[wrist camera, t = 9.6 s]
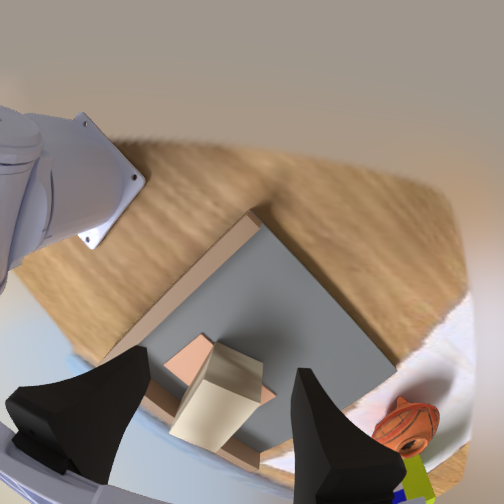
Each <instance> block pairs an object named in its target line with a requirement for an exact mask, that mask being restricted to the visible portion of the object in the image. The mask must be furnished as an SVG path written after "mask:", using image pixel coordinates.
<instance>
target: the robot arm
mask: <svg viewBox="0 0 504 504" xmlns="http://www.w3.org/2000/svg"><path fill="white" fill-rule="evenodd" d="M86 122H88V124H87V126H86ZM135 174H136V175H137V179H136V180H134V179H133V176H134V175H135ZM145 183H146V180H145V178H144V176H143V175H142V174H141V173H140V172H139V171H138V170H137V169H136V168H135V167H134V166H133V165H132V164H131V162H130V161H129V160H128V159H127V158H126V157H125V156H124V155H123V154H122V153H121V152H120V151H119V150H118V149H117V147H116V146H115V145H114V144H113V143H112V142H111V141H110V140H109V139H108V138H107V137H106V136H105V135H104V133H103V132H102V131H101V130H100V129H99V128H98V127H97V126H96V125H95V124H94V123H93V121H92V120H91V119H90V118H89V117H88V116H87V115H86V114H85V113H84V112H80V113H78V114H77V115H76V117H75V118H74V120H70V119H65V118H59V117H54V116H47V115H41V114H34V113H27V114H21V113H19V112H17V111H15V110H12V109H10V108H7V107H4V106H0V295H1V294H2V293H3V291H4V289H5V286H6V283H7V276H8V271H9V270H11V269H13V268H15V267H18V266H20V265H21V263H22V260H23V258H24V257H25V256H26V255H28V254H30V253H32V252H35V251H37V250H39V249H42V248H44V247H47V246H49V245H52V244H54V243H57V242H59V241H62V240H64V239H67V238H69V237H72V236H75V235H77V234H78V235H79V236H80V238H81V239H82V240H83V241H84V242H85V244H86V245H87V246H88V247H89V248H90V249H95V248H97V246H98V245H99V244H100V242H101V241H102V239H103V238H104V237H105V235H106V234H107V233H108V231H109V230H110V228H111V227H112V226H113V224H114V223H115V222H116V220H117V219H118V218H119V217H120V215H121V214H122V213H123V211H124V210H125V209H126V208H127V206H128V205H129V204H130V203H131V201H132V200H133V199H134V198H135V196H136V195H137V194H138V193H139V191H140V190H141V189H142V188H143V187H144V185H145ZM88 237H89V238H90V241H89V240H88ZM150 380H151V375H150V368H149V361H148V353H147V347H143V346H138V345H135V346H133V347H131V348H130V349H128V350H126V351H125V352H123V353H121V354H120V355H118V356H116V357H115V358H113V359H111V360H109V361H108V362H106V363H104V364H102V365H100V366H98V367H96V368H94V369H92V370H90V371H88V372H86V373H84V374H81V375H79V376H76V377H73V378H71V379H67V380H64V381H60V382H56V383H52V384H45V385H39V386H25V387H18V389H17V390H16V391H15V392H14V393H13V394H12V395H11V396H10V397H9V398H8V399H7V400H6V402H5V405H6V409H7V411H8V413H9V415H10V417H11V418H12V420H13V422H14V423H15V425H16V427H17V428H18V430H19V431H18V432H17V434H15V433H14V432H13V431H12V430H11V429H10V428H8V427H7V426H6V425H4V424H3V423H1V422H0V480H1V481H3V482H4V483H5V484H6V485H7V486H9V487H10V488H11V489H13V490H14V491H15V492H17V493H18V494H19V495H20V496H22V497H23V498H24V499H26V500H27V501H29V502H30V503H31V504H171V503H167V502H163V501H160V500H156V499H152V498H149V497H146V496H142V495H139V494H136V493H133V492H130V491H127V490H124V489H121V488H118V487H115V486H112V485H108V480H109V476H110V472H111V469H112V465H113V462H114V458H115V456H116V453H117V450H118V447H119V444H120V442H121V439H122V437H123V434H124V432H125V430H126V428H127V426H128V424H129V422H130V420H131V419H132V417H133V415H134V413H135V412H136V410H137V408H138V406H139V405H140V403H141V401H142V399H143V397H144V396H145V393H146V391H147V388H148V386H149V383H150ZM290 417H291V426H292V434H293V443H294V452H295V485H294V503H293V504H393V502H392V500H393V499H394V498H395V495H394V492H393V491H394V490H395V488H396V487H397V486H398V485H399V484H400V483H401V482H402V481H403V479H404V478H405V476H406V474H407V470H406V467H405V464H404V461H403V459H402V457H401V455H400V453H399V452H397V451H395V450H392V449H390V448H388V447H386V446H384V445H383V444H381V443H379V442H378V441H376V440H374V439H373V438H371V437H370V436H368V435H367V434H366V433H364V432H363V431H362V430H360V429H359V428H358V427H357V426H355V425H354V424H353V423H352V422H351V421H350V420H349V419H348V418H347V417H346V416H345V415H344V414H343V413H342V412H341V411H340V410H339V408H338V407H337V406H336V405H335V404H334V402H333V401H332V400H331V398H330V397H329V396H328V394H327V393H326V391H325V390H324V389H323V387H322V386H321V384H320V382H319V381H318V379H317V377H316V376H315V374H314V372H313V371H312V369H311V368H297V373H296V377H295V382H294V386H293V391H292V395H291V409H290ZM398 504H426V501H425V498H424V497H419V498H415V499H412V500H408V501H404V502H400V503H398Z"/></svg>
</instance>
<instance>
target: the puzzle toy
mask: <svg viewBox="0 0 504 504" xmlns="http://www.w3.org/2000/svg"><path fill="white" fill-rule="evenodd" d="M403 461H404V464H405V467H406V470H407V474H406V476H405V478H404V479H403V481H402V482H401V483H400V484H399V485H398V486H397V487H396V488H395V490H394V491H393V492H394V495H395V498H394V499H393V500H392V502H393V504H398V503H400V502H404V501H408V500H412V499H415V498H419V497H424V498H425V501H426V504H434V501H435V497H436V496H435V494H434V491H433V488H432V486H431V483H430V480H429V478H428V475H427V472H426V470H425V467H424V465H423V462H422V460H421V457H420V455H419V454H418V455H416V456H414V457H411V458H408V459H403Z"/></svg>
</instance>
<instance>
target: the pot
mask: <svg viewBox="0 0 504 504" xmlns="http://www.w3.org/2000/svg"><path fill="white" fill-rule="evenodd" d="M439 419H440V418H439V411H438V409H437V408H436V407H435V406H432V405H430V404H425V403H409V402H408V401H407V400H406V399H405V398H403V397H398V399H397V408H396V410H394V411H393V412H391V413H389V414H388V415H387V416H386V417H385V418H384V419H383V420H382V421H381V422H380V423H379V424H378V425H376V426H375V430H374V432H373V434H372V438H373V439H374V440H376V441H378V442H379V443H381V444H383V445H384V446H386V447H388V448H390V449H392V450H395V451H397V452H399V453H400V455H401V457H402V459H408V458H411V457H414V456H416V455H418V454H420V453H421V452H422V451H423V450H424V449H425V448H426V447H427V445H428V444H429V442H430V441H431V439H432V438H433V437H434V435H435V433H436V431H437V428H438V425H439Z"/></svg>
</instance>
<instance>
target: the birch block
mask: <svg viewBox="0 0 504 504" xmlns="http://www.w3.org/2000/svg"><path fill="white" fill-rule="evenodd" d="M262 375H263V363H262V362H260V361H257V360H255V359H253V358H251V357H248V356H246V355H244V354H242V353H240V352H238V351H236V350H234V349H231V348H229V347H227V346H225V345H223V344H221V343H219V342H217V341H216V342H215V344H214V345H213V347H212V349H211V350H210V352H209V354H208V355H207V357H206V359H205V360H204V362H203V364H202V365H201V367H200V369H199V371H198V372H197V374H196V376H195V377H194V379H193V381H192V382H191V384H190V386H189V387H188V389H187V391H186V392H185V394H184V396H183V398H182V400H181V403H180V405H179V408H178V411H177V413H176V416H175V418H174V421H173V424H172V426H171V429H170V432H169V434H171V435H174V436H176V437H178V438H180V439H183V440H185V441H187V442H190V443H192V444H195V445H197V446H200V447H202V448H205V449H207V450H210V451H213V452H215V453H216V452H217V451H218V450H219V449H220V448H221V447H222V446H223V445H224V444H225V442H226V441H227V440H228V439H229V438H230V437H231V436H232V435H233V434H234V433H235V432H236V431H237V430H238V429H239V428H240V426H241V425H242V424H243V423H244V422H245V421H246V420H247V419H248V418H249V416H250V415H251V414H252V413H253V412H254V411H255V410H256V409H257V407H258V406H259V405H260V404H261V391H262Z"/></svg>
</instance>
